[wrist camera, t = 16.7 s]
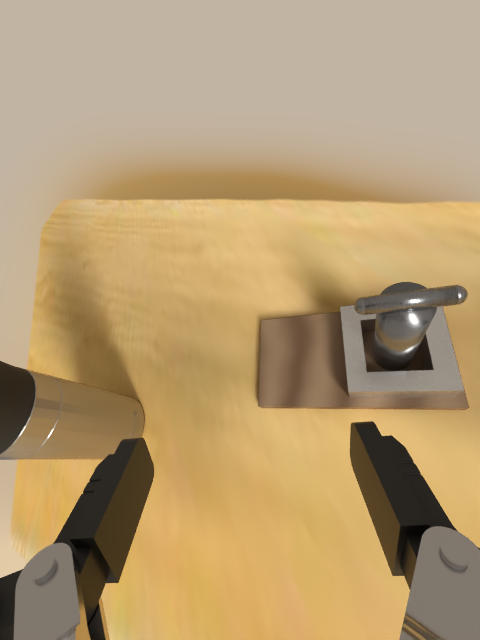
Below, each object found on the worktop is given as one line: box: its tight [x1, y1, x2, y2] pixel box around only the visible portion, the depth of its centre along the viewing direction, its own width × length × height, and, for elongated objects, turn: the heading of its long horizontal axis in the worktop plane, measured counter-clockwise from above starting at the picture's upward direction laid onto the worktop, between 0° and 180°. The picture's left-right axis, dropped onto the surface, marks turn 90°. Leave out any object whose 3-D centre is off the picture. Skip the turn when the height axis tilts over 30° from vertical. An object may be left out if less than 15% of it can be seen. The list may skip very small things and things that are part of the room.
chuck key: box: [354, 282, 468, 371], centre depth 27 cm, size 7×4×14 cm, turn 87°
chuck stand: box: [258, 305, 469, 410], centre depth 34 cm, size 22×12×5 cm, turn 86°
